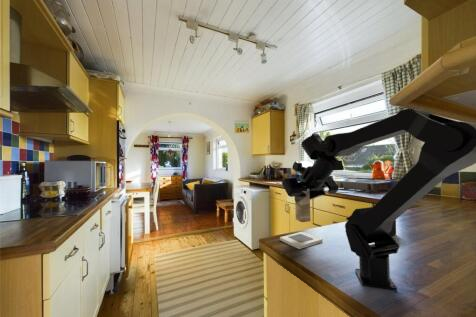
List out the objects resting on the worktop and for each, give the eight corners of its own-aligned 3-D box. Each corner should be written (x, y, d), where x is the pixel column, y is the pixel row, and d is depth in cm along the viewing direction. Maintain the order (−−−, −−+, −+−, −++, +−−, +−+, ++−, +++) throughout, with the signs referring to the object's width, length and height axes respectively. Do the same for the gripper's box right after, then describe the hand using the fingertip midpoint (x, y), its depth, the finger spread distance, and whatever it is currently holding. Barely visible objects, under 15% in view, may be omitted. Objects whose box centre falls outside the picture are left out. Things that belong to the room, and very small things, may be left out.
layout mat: (302, 234, 77) (302, 231, 77) (322, 242, 69) (322, 238, 69) (279, 240, 71) (279, 236, 71) (299, 249, 64) (299, 245, 64)
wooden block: (310, 221, 70) (309, 186, 70) (301, 222, 69) (300, 186, 69) (304, 218, 73) (303, 185, 74) (295, 219, 72) (294, 185, 72)
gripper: (330, 152, 71) (310, 182, 81) (284, 152, 65) (268, 184, 75) (350, 176, 63) (325, 205, 73) (299, 179, 57) (280, 210, 67)
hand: (300, 200), depth 72 cm, fingers closed on wooden block, 3 cm apart
